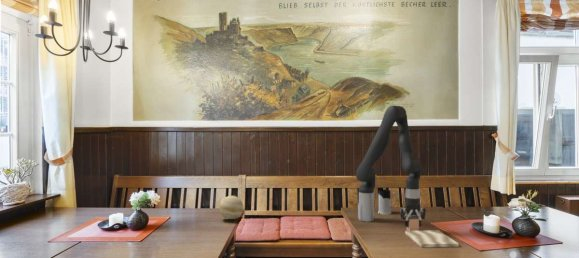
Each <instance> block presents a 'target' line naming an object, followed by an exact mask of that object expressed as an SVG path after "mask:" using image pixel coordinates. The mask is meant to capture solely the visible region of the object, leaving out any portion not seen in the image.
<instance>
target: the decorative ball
mask: <svg viewBox="0 0 579 258" xmlns="http://www.w3.org/2000/svg"><path fill="white" fill-rule="evenodd" d="M243 211H244V204H243V201H242V199H241V198H239V197H238V196H236V195H228V196H226V197H224V198H223V199H222V200H221V202H220V204H219V213H220V215H221V217H223V218H224V219H225V220H228V219H234V220H236V219H238V218H239V217H241V215H242V213H243Z"/></svg>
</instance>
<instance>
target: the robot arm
mask: <svg viewBox="0 0 579 258" xmlns="http://www.w3.org/2000/svg"><path fill="white" fill-rule="evenodd" d="M395 123H396V125H397V128H398V147H399V150H400V153H401V166H402V170H403V171H404V172H405V173H406V174H409V176H408V177H407V178H406V179H405V192H404V193H405V194H404V196H405V206H404V207H403V208H402V207H400V208H399V214H400V219H401V220H403V221H404V223H403V224H404V227H405V228H407V227H408V218H409V217H410V215H416V216H418V217H419V228H421V227H422V220H425V219H426V213H427V212H426V210H427V209H426V208H425V207H421V198H420V197H421V195H420V179H421V175H422V169H423V167H422V163H421V162H420V161H419V160H416V159H414V160H413V156H414V155H415V153H416V152H415V149H414V146H413V142H412V138H411V135H410V128H409V122H408V115H407V110H406V109H405V107H403V106H401V105H389V106H388V107H387V108H386V109H385V111H384V114H383V118H382V120H381V122H380V125H379V127H378V129H377V131H376V134H375V136H374V137H373V139H372V141H371V144H370V146H369V148H368V150H367V152H366V153H365V156H364V158H363V159H362V161H361V163H360V164H359V166H358V167H357V170H356V173H355V177H356V178H355V179H356V180H357V181H359V182H361V185H360V186H359V187H358V203H357V219H358V220H359V221H360V222H366V223H367V222H369V223H370V222H374V221H375V188H376V171H375V168H374V167H373V166H374V165H375V164H376V163H377V162H378V160H380V159H381V157H383V156H384V154H385V152H386V150H387V148H388V146H389V144H390V139H391V138H390V135H391V130H392V128H393V126H394V125H395ZM405 211H406V212H405ZM420 212H421V214H420Z"/></svg>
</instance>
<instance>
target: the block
mask: <svg viewBox="0 0 579 258" xmlns="http://www.w3.org/2000/svg"><path fill="white" fill-rule="evenodd" d="M406 231H420V227H419V217H418V216H416V215H410V217H409V218H408V227H406Z"/></svg>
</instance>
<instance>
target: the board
mask: <svg viewBox="0 0 579 258" xmlns="http://www.w3.org/2000/svg"><path fill="white" fill-rule="evenodd" d="M404 232H405V233H404V234H405V235H406V236H407V237H408V238H410V240H412V241H413V242H414V243H415V244H416V245H418V246H419V247H420V248H421V249H422V248H457V247H458V248H459V247H460V246H459V242H457V241H455V239H453V238H451V237H449V236H448V235H446V234H444V233H443V232H442V231H440V230H439V229H437V230H436V229H434V230H433V229H432V230H431V229H429V230H428V229H427V230H425V229H424V230H419V231H408V230H405V231H404Z"/></svg>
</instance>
